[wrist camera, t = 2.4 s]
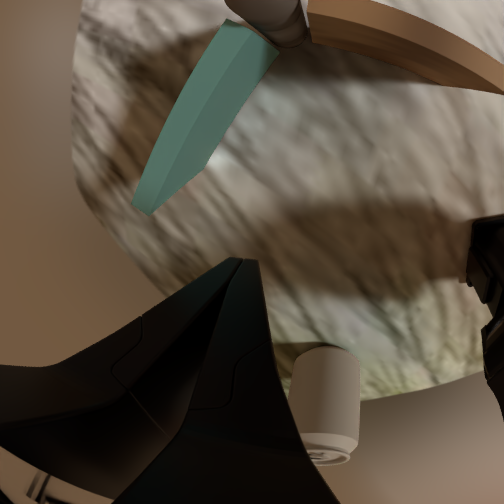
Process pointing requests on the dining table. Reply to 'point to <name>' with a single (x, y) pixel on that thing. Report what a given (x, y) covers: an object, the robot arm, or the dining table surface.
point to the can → (326, 403)
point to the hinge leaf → (208, 108)
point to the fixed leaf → (381, 38)
